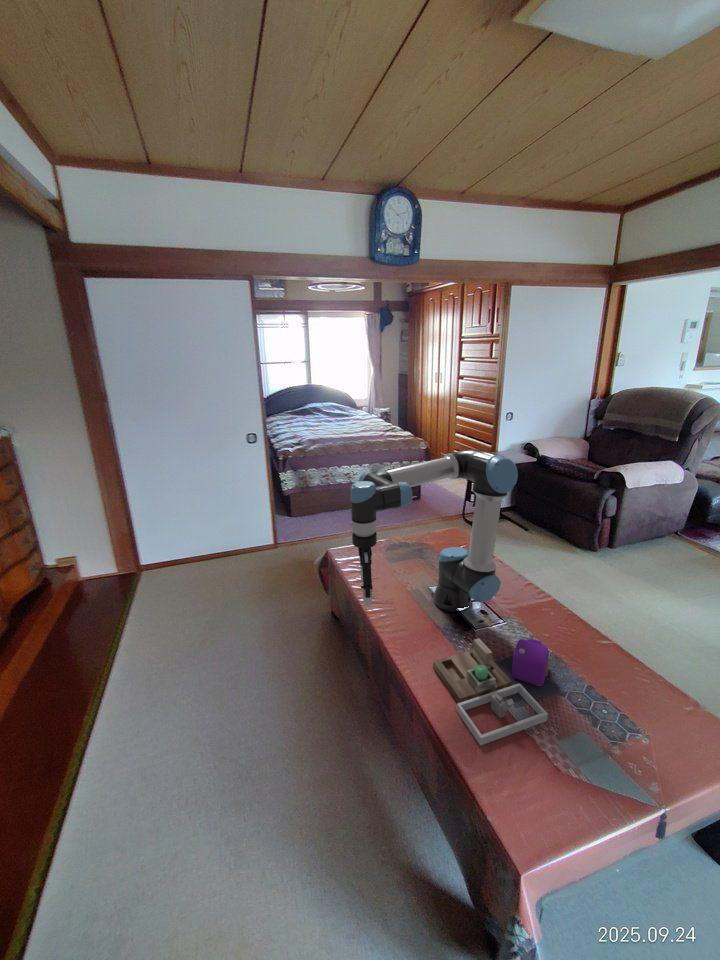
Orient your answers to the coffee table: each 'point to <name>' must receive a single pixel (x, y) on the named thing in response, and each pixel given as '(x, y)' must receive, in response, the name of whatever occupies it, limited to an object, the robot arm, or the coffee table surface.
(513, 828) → the coffee table surface
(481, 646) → the station
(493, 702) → the lighter
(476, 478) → the robot arm
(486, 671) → the button
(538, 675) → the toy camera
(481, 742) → the rectangular frame
